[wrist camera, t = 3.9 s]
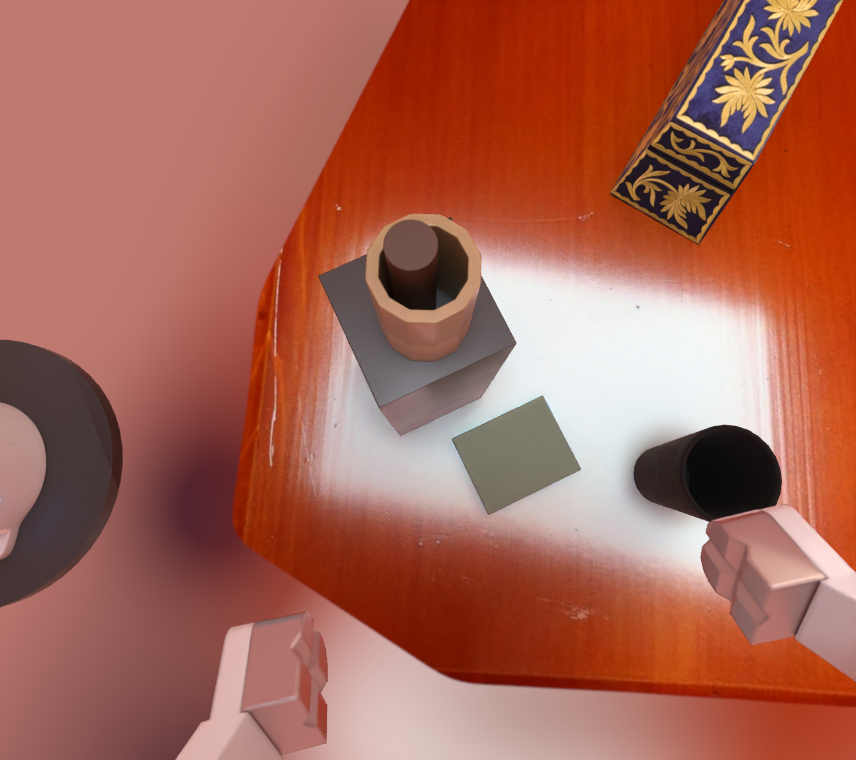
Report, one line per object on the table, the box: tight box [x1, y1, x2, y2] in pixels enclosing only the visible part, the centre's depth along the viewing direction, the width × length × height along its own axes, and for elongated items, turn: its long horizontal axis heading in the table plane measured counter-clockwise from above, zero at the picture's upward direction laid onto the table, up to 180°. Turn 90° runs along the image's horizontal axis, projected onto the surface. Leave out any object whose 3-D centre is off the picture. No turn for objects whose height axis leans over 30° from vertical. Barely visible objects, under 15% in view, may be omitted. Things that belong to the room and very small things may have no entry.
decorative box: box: [610, 0, 843, 245], centre depth 54 cm, size 11×30×9 cm, turn 149°
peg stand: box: [318, 217, 516, 436], centre depth 38 cm, size 9×9×31 cm
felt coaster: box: [452, 396, 581, 514], centre depth 52 cm, size 10×8×1 cm
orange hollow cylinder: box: [365, 214, 481, 361], centre depth 28 cm, size 5×5×8 cm
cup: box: [634, 425, 782, 522], centre depth 46 cm, size 8×8×12 cm
